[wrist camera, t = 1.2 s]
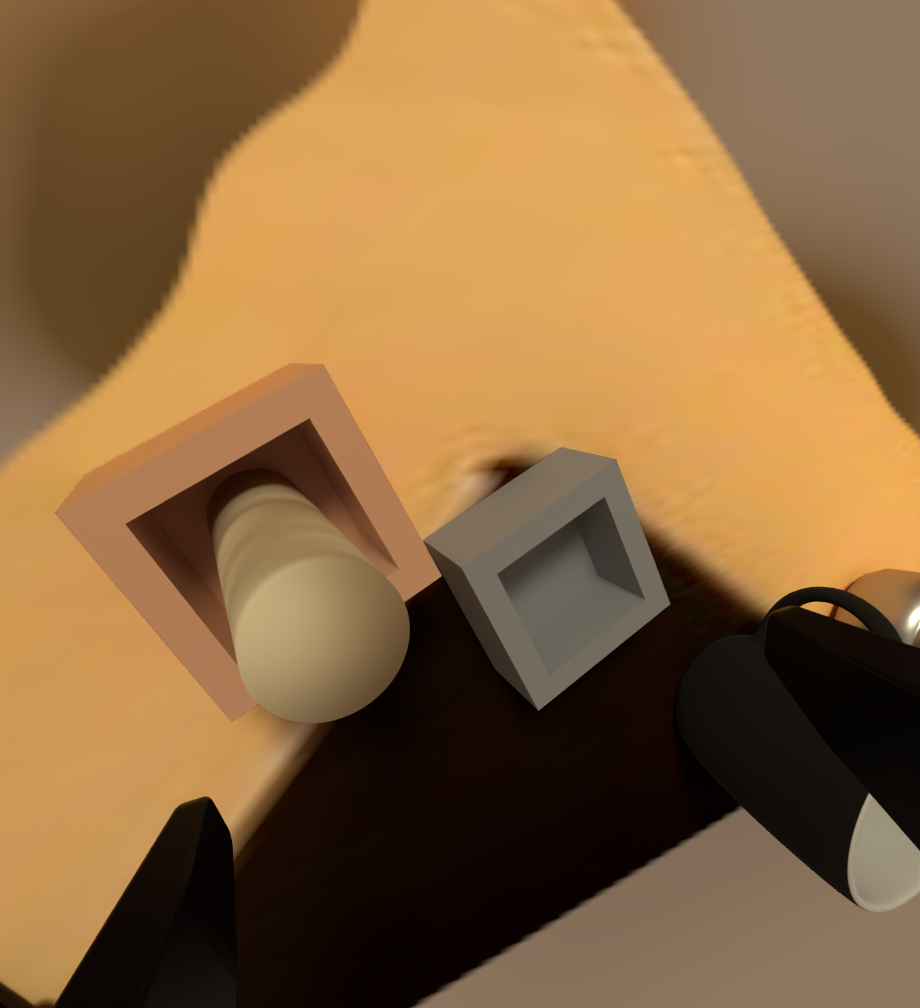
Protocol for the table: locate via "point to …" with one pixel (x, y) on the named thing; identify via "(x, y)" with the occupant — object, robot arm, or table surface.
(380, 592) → the dowel
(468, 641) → the table surface
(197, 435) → the square box
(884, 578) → the plastic bottle
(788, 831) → the mug
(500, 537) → the socket block
